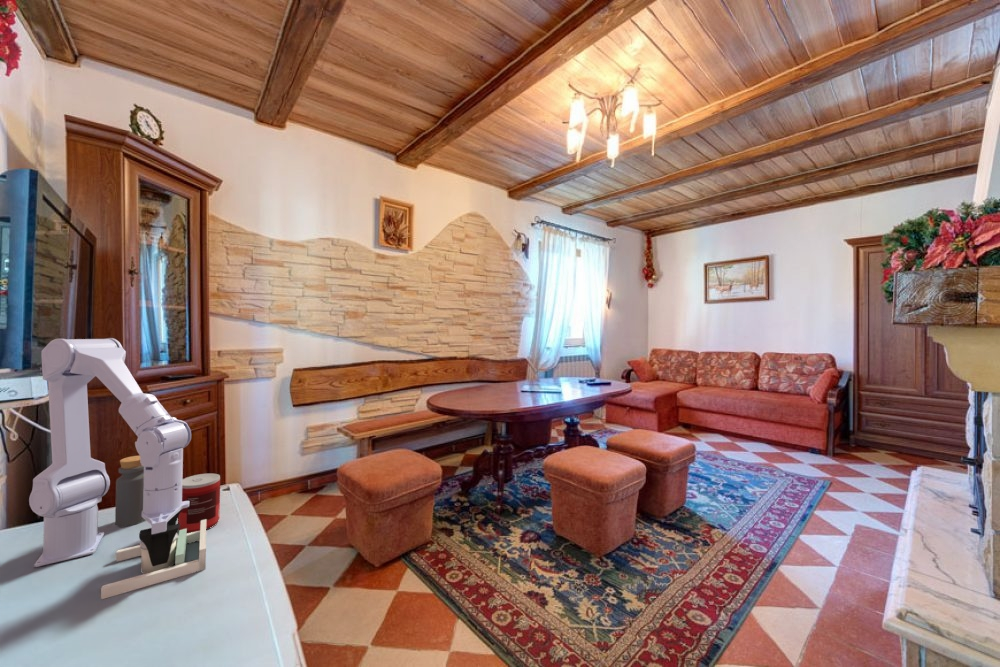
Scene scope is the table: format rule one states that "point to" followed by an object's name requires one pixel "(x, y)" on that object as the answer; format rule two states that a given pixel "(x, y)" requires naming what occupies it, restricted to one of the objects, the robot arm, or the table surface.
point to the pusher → (181, 547)
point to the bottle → (129, 492)
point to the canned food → (200, 501)
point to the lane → (160, 574)
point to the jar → (147, 566)
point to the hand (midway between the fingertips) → (162, 554)
